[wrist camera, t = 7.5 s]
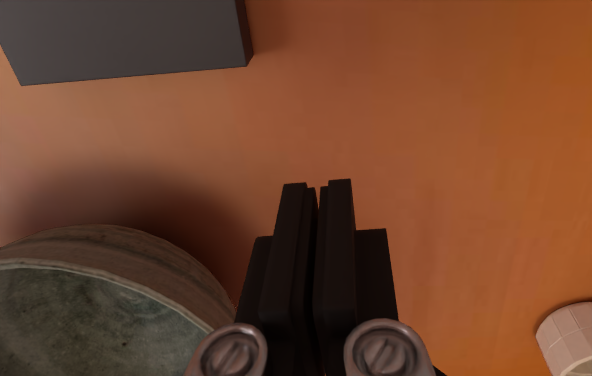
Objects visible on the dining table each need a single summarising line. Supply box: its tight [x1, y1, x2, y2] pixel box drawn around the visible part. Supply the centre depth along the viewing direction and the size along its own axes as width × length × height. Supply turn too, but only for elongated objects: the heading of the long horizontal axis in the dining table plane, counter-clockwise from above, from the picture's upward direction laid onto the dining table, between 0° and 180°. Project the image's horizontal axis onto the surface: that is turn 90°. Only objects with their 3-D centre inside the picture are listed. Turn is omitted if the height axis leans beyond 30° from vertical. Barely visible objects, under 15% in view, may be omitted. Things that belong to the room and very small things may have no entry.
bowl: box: [0, 224, 236, 376], centre depth 30 cm, size 21×21×10 cm
